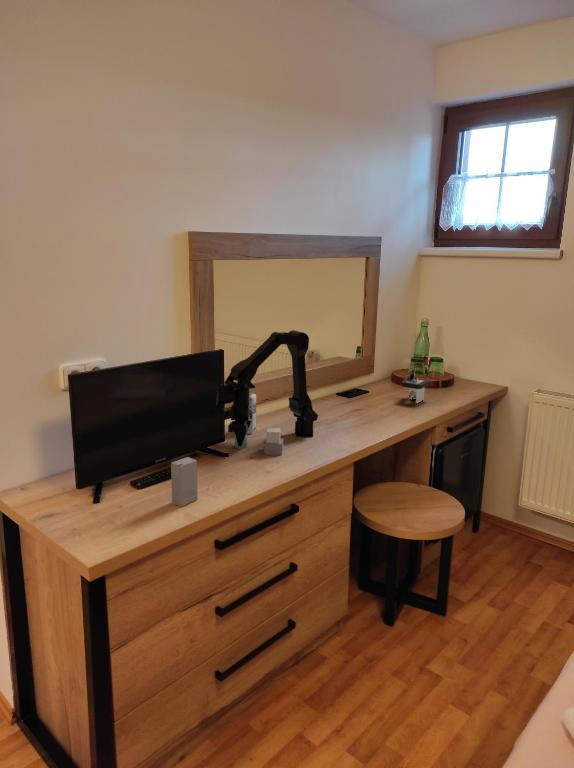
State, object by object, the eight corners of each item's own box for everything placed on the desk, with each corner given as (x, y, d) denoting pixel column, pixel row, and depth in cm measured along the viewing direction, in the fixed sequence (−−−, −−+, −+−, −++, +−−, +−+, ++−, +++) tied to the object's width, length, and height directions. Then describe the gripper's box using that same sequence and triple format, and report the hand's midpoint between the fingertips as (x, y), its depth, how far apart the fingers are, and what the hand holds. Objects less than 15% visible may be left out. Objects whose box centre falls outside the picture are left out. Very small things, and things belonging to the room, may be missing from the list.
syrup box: (253, 434, 218) (253, 397, 214) (237, 433, 219) (238, 396, 215) (256, 429, 223) (257, 393, 220) (241, 428, 224) (242, 392, 221)
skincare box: (187, 496, 164) (187, 455, 161) (198, 500, 162) (198, 460, 159) (170, 502, 160) (169, 461, 157) (181, 508, 157) (180, 466, 154)
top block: (280, 438, 202) (280, 428, 202) (279, 443, 198) (279, 432, 197) (267, 438, 203) (267, 427, 202) (266, 442, 198) (266, 431, 197)
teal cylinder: (247, 444, 207) (247, 434, 206) (246, 449, 202) (246, 438, 201) (235, 444, 207) (235, 433, 206) (233, 448, 203) (233, 437, 202)
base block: (283, 449, 204) (283, 438, 203) (281, 455, 198) (282, 444, 197) (266, 448, 204) (266, 437, 203) (264, 454, 198) (264, 443, 197)
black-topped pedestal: (399, 391, 288) (401, 365, 285) (450, 401, 274) (453, 373, 271) (373, 403, 266) (375, 375, 263) (427, 414, 252) (430, 384, 248)
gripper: (222, 393, 210) (222, 434, 214) (213, 407, 192) (213, 452, 196) (253, 394, 210) (252, 435, 213) (246, 409, 191) (245, 453, 195)
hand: (240, 443), depth 204 cm, fingers closed on teal cylinder, 4 cm apart
